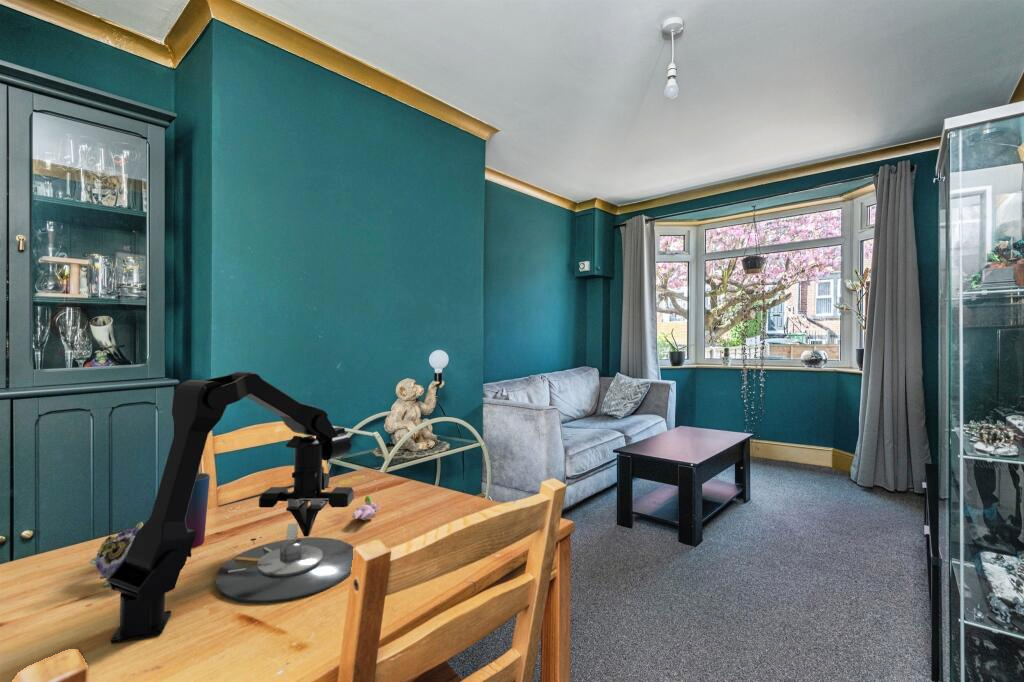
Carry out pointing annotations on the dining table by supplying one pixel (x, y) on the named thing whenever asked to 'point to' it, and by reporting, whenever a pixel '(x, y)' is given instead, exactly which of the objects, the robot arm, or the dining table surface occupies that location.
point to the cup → (198, 508)
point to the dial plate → (254, 587)
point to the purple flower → (366, 509)
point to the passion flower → (114, 552)
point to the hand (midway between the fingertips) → (306, 535)
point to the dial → (290, 556)
